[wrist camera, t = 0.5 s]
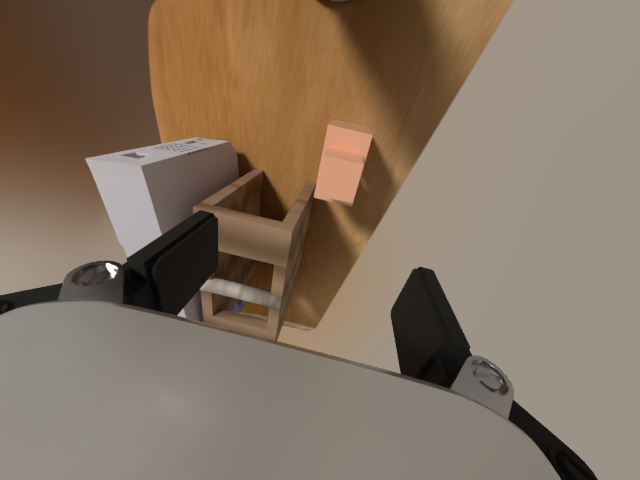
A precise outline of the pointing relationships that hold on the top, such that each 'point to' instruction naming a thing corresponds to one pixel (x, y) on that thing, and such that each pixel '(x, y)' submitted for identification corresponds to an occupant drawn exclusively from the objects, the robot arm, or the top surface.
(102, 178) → the game console
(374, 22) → the top surface
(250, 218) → the wooden rack
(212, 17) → the top surface
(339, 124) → the salmon stepped block
